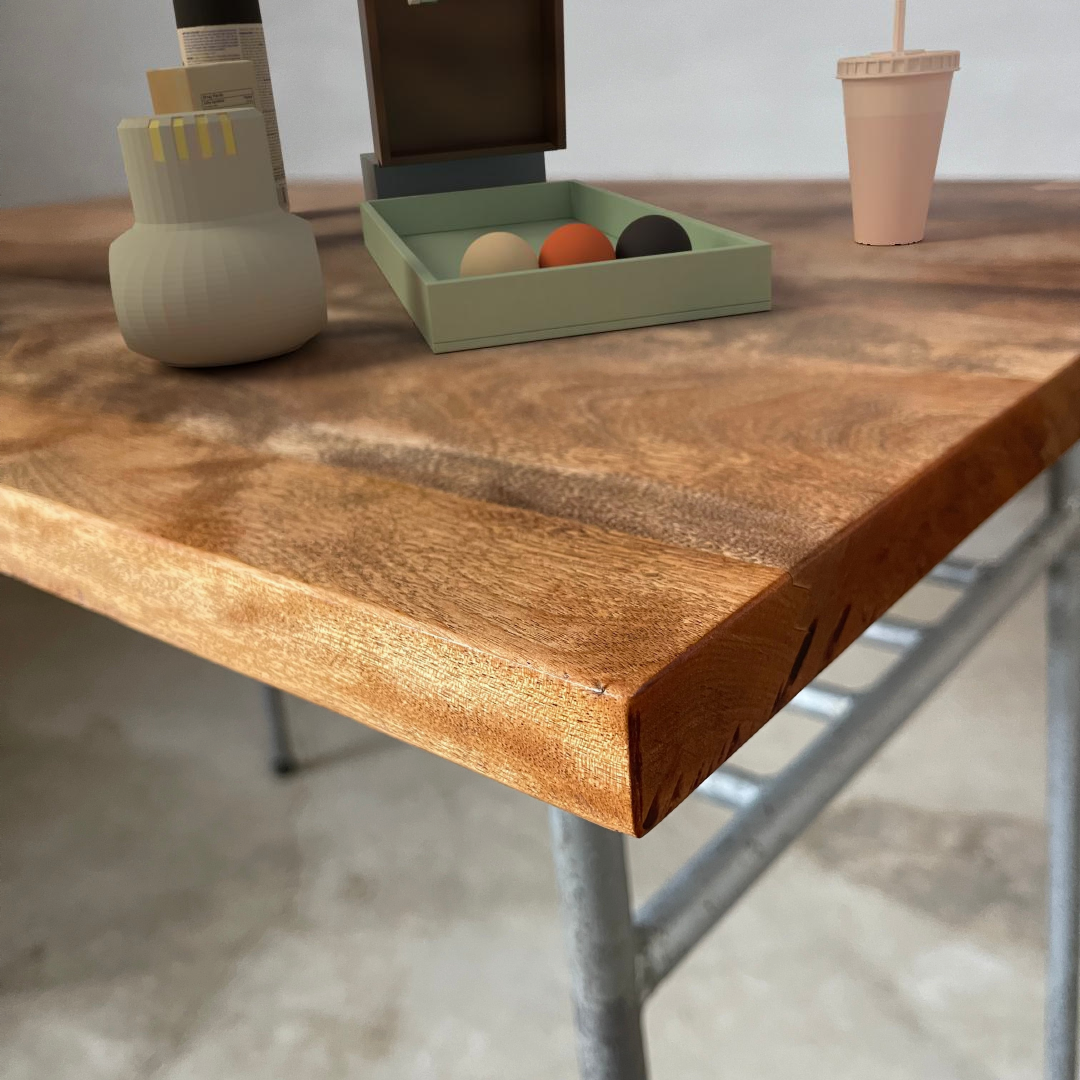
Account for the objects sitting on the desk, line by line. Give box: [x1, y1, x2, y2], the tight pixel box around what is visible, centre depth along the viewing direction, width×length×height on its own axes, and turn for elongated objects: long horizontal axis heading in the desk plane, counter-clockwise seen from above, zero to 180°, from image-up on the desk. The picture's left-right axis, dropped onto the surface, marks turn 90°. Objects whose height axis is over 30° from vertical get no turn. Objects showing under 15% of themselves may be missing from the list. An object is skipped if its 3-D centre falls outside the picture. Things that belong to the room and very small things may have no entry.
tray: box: [358, 178, 773, 354], centre depth 62 cm, size 33×15×3 cm, turn 13°
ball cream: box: [461, 232, 539, 278], centre depth 51 cm, size 4×4×4 cm
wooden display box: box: [356, 0, 568, 168], centre depth 68 cm, size 14×12×12 cm
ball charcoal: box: [615, 215, 692, 260], centre depth 52 cm, size 4×4×4 cm
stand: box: [359, 152, 547, 201], centre depth 84 cm, size 11×12×5 cm
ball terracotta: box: [538, 223, 616, 269], centre depth 51 cm, size 4×4×4 cm
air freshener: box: [108, 108, 328, 368], centre depth 48 cm, size 11×8×10 cm
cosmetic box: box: [145, 60, 262, 115], centre depth 78 cm, size 6×4×12 cm
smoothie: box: [834, 0, 962, 246], centre depth 61 cm, size 6×6×14 cm
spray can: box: [172, 0, 291, 213], centre depth 90 cm, size 7×7×20 cm
